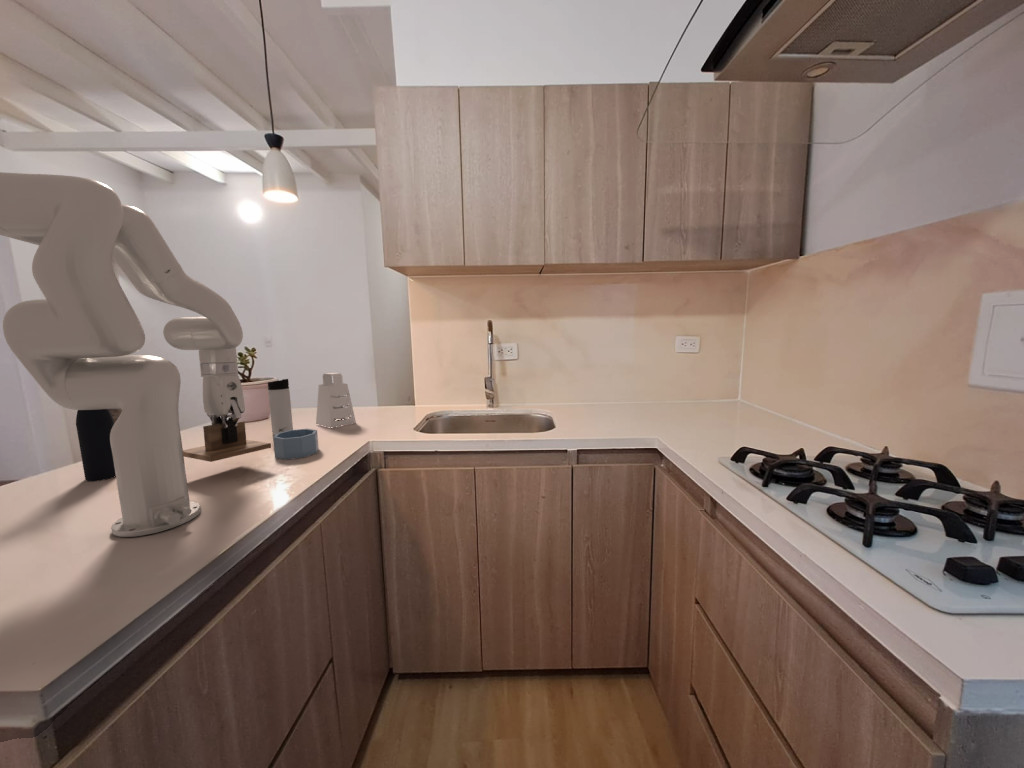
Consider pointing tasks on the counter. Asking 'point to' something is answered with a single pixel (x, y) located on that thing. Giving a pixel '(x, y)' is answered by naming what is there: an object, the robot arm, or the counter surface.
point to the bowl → (295, 443)
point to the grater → (334, 402)
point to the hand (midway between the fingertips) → (226, 441)
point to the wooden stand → (218, 450)
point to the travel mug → (280, 406)
